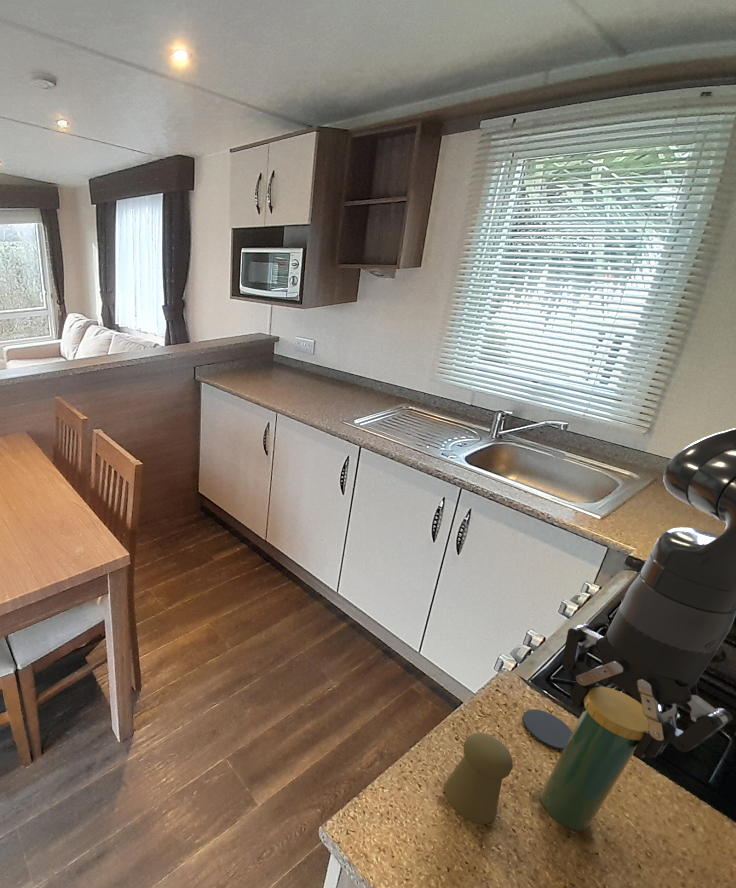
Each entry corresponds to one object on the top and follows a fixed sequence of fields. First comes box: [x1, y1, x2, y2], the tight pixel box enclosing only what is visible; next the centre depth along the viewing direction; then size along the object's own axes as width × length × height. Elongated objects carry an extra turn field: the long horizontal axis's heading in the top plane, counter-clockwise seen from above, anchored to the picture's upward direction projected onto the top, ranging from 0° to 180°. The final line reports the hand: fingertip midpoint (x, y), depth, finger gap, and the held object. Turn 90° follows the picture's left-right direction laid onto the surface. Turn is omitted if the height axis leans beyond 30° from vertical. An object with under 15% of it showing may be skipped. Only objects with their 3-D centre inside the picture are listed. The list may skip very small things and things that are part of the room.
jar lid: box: [583, 686, 649, 740], centre depth 56 cm, size 6×6×2 cm
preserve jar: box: [539, 707, 640, 832], centre depth 60 cm, size 5×5×19 cm
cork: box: [443, 732, 514, 825], centre depth 63 cm, size 6×6×11 cm
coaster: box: [521, 709, 573, 751], centre depth 74 cm, size 6×6×1 cm
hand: (609, 727), depth 58 cm, fingers closed on jar lid, 6 cm apart
